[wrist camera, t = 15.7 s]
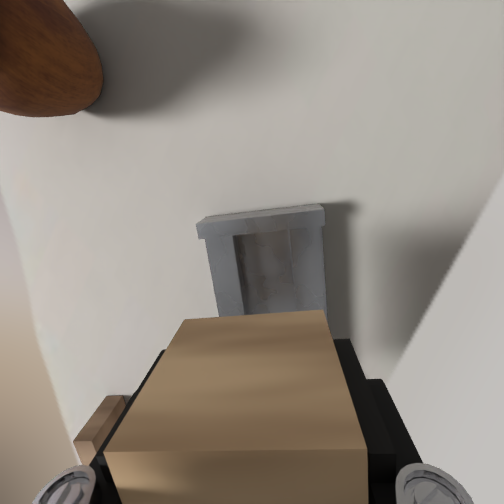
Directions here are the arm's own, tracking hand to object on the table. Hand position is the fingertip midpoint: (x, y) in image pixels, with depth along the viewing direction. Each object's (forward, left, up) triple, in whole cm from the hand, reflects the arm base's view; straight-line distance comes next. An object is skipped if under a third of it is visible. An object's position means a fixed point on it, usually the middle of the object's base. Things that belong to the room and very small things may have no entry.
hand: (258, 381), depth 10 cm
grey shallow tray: (-3, 0, -12) cm, 12 cm away
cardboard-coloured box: (-3, 0, -1) cm, 3 cm away
